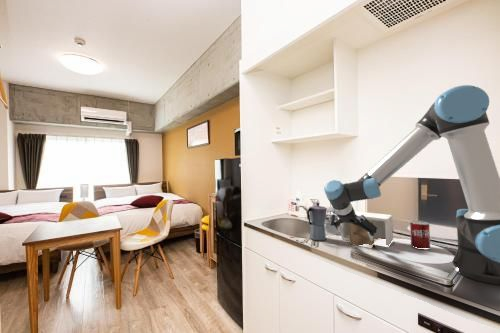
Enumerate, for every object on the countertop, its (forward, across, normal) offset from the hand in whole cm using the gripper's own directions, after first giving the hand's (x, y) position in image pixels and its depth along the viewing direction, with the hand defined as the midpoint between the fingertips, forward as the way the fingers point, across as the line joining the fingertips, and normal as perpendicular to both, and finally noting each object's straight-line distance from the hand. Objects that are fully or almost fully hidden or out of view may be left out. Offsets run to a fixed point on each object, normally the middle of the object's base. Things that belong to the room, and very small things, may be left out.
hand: (356, 235), depth 104 cm
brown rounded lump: (+9, 0, 0) cm, 9 cm away
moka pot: (+5, -21, -4) cm, 22 cm away
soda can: (+18, +22, +9) cm, 30 cm away
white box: (+14, 0, +6) cm, 16 cm away
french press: (+17, -21, +8) cm, 28 cm away
